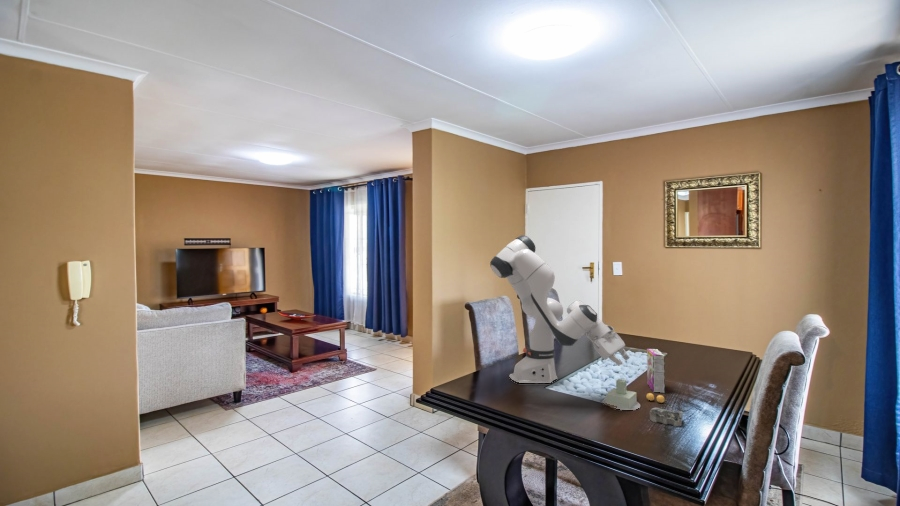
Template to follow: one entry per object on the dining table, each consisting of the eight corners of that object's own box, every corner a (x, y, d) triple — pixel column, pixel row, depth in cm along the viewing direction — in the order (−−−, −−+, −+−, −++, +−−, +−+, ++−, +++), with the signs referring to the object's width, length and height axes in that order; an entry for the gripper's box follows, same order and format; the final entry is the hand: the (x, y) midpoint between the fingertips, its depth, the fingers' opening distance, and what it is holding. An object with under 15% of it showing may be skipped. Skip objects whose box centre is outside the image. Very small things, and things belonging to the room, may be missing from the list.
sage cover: (606, 403, 172) (605, 381, 172) (613, 397, 179) (613, 375, 179) (629, 409, 167) (629, 385, 167) (636, 402, 174) (636, 379, 174)
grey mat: (614, 412, 165) (614, 410, 165) (596, 399, 179) (596, 398, 179) (648, 409, 167) (648, 408, 167) (627, 397, 181) (627, 396, 181)
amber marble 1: (649, 402, 175) (649, 394, 175) (644, 399, 178) (644, 392, 178) (656, 401, 176) (656, 394, 176) (651, 399, 179) (651, 391, 179)
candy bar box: (646, 384, 197) (646, 348, 197) (658, 385, 196) (658, 348, 196) (652, 392, 186) (652, 354, 186) (665, 393, 185) (665, 355, 185)
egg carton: (647, 422, 156) (647, 410, 156) (651, 415, 163) (651, 404, 162) (681, 428, 150) (681, 416, 150) (683, 421, 157) (683, 409, 157)
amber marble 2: (659, 404, 173) (659, 396, 173) (654, 401, 176) (654, 394, 176) (666, 403, 173) (666, 396, 173) (661, 401, 176) (661, 393, 176)
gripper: (595, 334, 169) (622, 363, 163) (612, 325, 185) (637, 351, 179) (584, 344, 172) (610, 373, 166) (602, 334, 188) (626, 360, 182)
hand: (624, 361), depth 173 cm, fingers open, 8 cm apart
